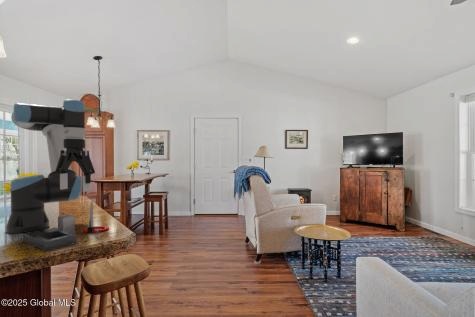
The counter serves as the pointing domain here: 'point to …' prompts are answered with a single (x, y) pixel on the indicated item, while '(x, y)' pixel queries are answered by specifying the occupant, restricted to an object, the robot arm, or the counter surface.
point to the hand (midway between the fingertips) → (74, 190)
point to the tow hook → (91, 228)
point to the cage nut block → (67, 223)
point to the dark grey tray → (50, 238)
